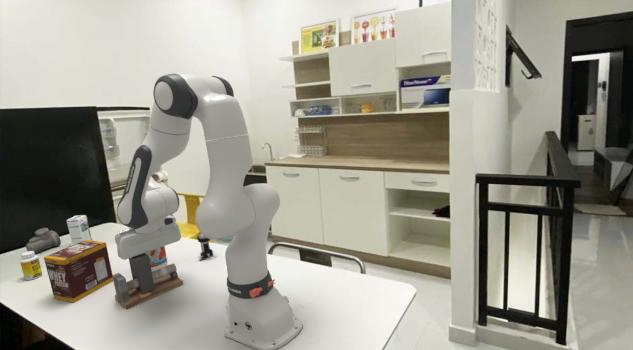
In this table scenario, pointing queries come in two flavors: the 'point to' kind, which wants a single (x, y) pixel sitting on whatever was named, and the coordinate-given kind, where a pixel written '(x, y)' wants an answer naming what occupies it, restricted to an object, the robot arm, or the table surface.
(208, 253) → the push button
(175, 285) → the pipe rig
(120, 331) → the table surface
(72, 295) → the supplement box
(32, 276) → the supplement bottle
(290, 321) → the robot arm
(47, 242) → the pipe fitting
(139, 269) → the dark grey upright block
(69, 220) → the syrup box
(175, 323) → the table surface
